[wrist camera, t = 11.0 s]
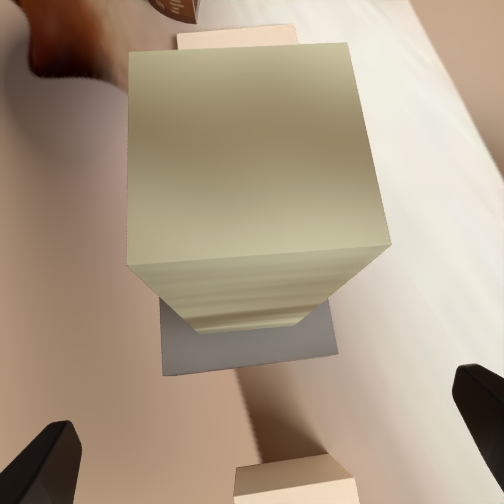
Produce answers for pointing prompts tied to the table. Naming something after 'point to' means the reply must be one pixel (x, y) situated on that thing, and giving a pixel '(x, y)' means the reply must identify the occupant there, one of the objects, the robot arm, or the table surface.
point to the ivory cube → (295, 482)
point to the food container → (178, 9)
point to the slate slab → (243, 343)
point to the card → (239, 37)
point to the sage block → (249, 182)
